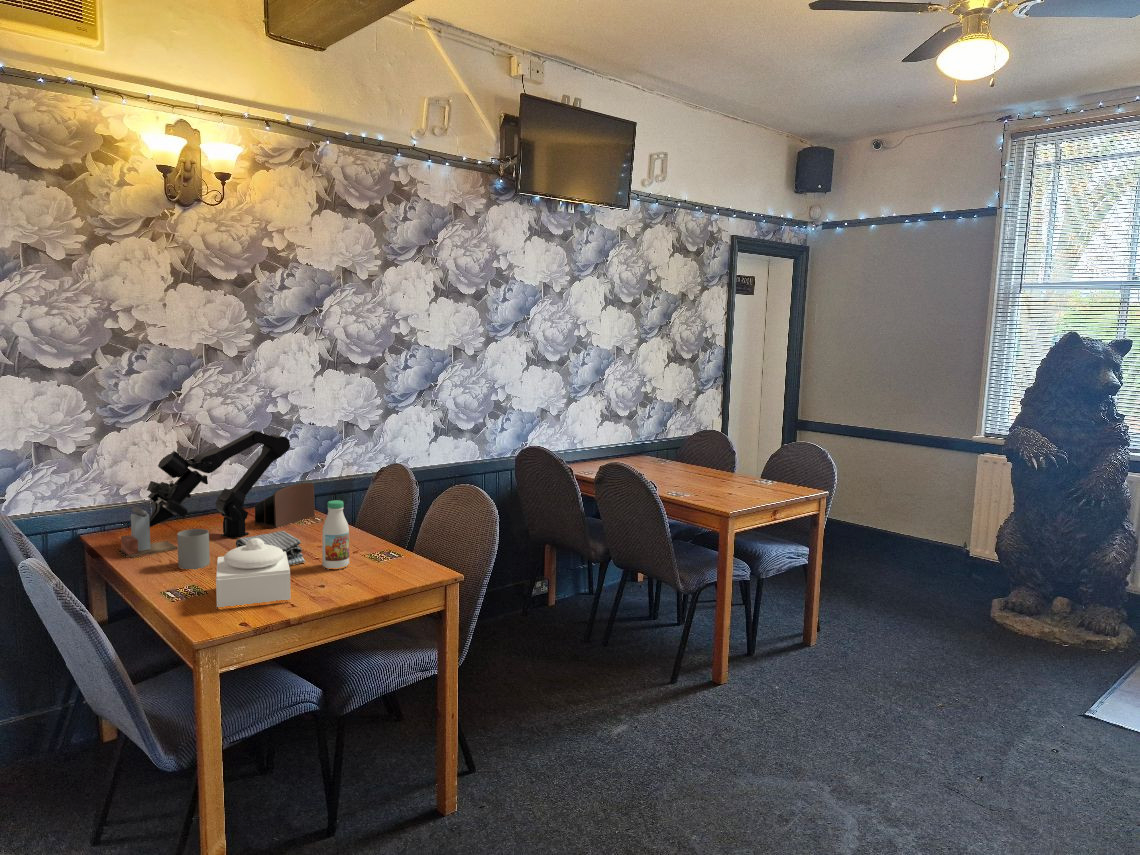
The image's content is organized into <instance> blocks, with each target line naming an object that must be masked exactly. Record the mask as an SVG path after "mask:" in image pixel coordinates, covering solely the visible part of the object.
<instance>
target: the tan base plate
mask: <svg viewBox="0 0 1140 855" xmlns="http://www.w3.org/2000/svg"><path fill="white" fill-rule="evenodd" d="M120 543H121V548H120V552H121V553H123V554H124V555H125V554H126V556H127V555H128V556H129V557H128V556H127V557H128V558H130V557H133V558H136V557H135V556H138V557H141V556H140V555H144V556H147V555H146V554H149V555H152V554H151V553H155V554H157V553H156V552H161V553H163V552H162V551H166V552H168V551H167V550H172V551H176V550H175V549H177V550H178V546H177V545H175V544H173V543H171V542H169V540H166V541H165V540H164V541H158V542H152V543H150V548H151V549H149V550H143V551H138V540H137V539H136V538H134V537H133V536H132V535H131V534H127V535H121V536H120Z"/></svg>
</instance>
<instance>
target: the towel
mask: <svg viewBox="0 0 1140 855" xmlns="http://www.w3.org/2000/svg"><path fill="white" fill-rule="evenodd" d="M252 538H259V539H261V540H262V541H263V542H264V544H266V545H272V546H276V547H278V548H280V549H281V550H283V552H284V551H286V555H287V559H288V563H289V565H293V564H298V563H303V562H305V563H306V560H305V559H304V557H303V556H304V554H303V553H302V552H303V549H302V547H301V546H300V544H302V541H301V540H300V539H299V538H297V537H295V536H293V535H292V534H290V533H288V532H286V531H285V530H278V531H276V532H275V531H274V532H271V533H267V534H266V533H263V534H258V535H257V534H256V535H253V536H246V537H245V536H243V537H238V538H236V541H235V547H236V548H237V547H241V546H245V545H246V543H247V542H248V541H249V540H250V539H252ZM298 565H299V564H298Z"/></svg>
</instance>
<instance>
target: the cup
mask: <svg viewBox="0 0 1140 855" xmlns="http://www.w3.org/2000/svg"><path fill="white" fill-rule="evenodd" d="M176 537H177V538H176V539H177V564H178V568H179V567H180V568H183V569H182V570H184V569H194V570H199V569H198V568H201V569H203V567H204V568H206V567H205V566H207V565H209V566H210V564H209V563H211V562H210V560H211V559H210V530H208V529H204V528H191V529H183V530H181V531H179V532H177V534H176ZM207 567H208V566H207ZM180 568H179V569H180Z"/></svg>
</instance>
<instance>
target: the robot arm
mask: <svg viewBox="0 0 1140 855" xmlns="http://www.w3.org/2000/svg"><path fill="white" fill-rule="evenodd" d="M257 444H261V445H262V447H261V452H260V455H259V456H258V457H257V458H256V460H254V462H253V463H252V464H251V466H250V467H248V469H247V470H246V472H245V473H244V474H243V475H242V476H241V478H240V479H239V480H238V482H237V483H236V484H235V485H234V486H233V487H232V488H230V489H228V488H224V489H223V490H222V492H221V493H220V495H218V496H216V501H215V509H216V510H217V512H219V513H220V514H221V516H222V517H223V521H222V533H221V534H220V537H222V536H223V537H224V538H231V539H239V538H242V537H245V536H247V535H250V533H249V532H248V531H246V520H247V518H248V515H249V512H247V510H246V509H244V508H243V505H244V504H245V500H246V497H247V495H248V493H249V492H250V491H251V489H252V488H253V487H254V486H255V485H256V483H257V482H258V480H259V479H260V478H261V477H262V476H263V474H264V473H265V472H266V470H268V468H269V467H270V466H271V465H272V463H273V462H274V461H276V460H277V459H279V458H281V457H283V455H285V454H286V453H287V452H289V450H290V448H291V441H290V440H289V438H287V437H286V436H283V435H279V434H271V435H269V434H267V433H263V432H261V431H259V430H256V429H253V430H249V432H247V433H246V434H244V435H242V436H240V437H238V438H236V439H234V440H232V441H230V442H228V443H227V444H224V445H223V446H221V447H219V448H216V449H210V450H207V451H204V452H201V453H200V452H199V453H197V455H195V456H194V457H191V458H188V459H185V458H183V456H181V454H180V453H179V452H177V451H175V450H173V451H172V452H171V453H169V454H167V455H165V456H164V457H163V458H161V459H160V461H159V462H158V464H157V467H158V468H159V469H160V470H162V471H163V472H164V473H165V474H167V475H168V476H169V477H171V478H172V479H175V478H177V480H176V481H175V482H174V483H173V482H170V483H167V482H163V481H161V482H156V481H153V480H150V481H149V484H148V486H147V489H146V491H147V492H150V493H149V495H148V496H147V498H148V499H150V500H151V501H152V504H153V511H152V513H151V514H150V516H149V522H150V528H151V527H154V526H155V525H158V524H160V523H162V522H164V521H166V520H168V519H171V518H175V517H176V515H175V514H177V515H178V517H180V518H182V519H185V517H186V516H187V515H188V513H189V512H188V509H187V508H186V507H184V506H183V505H182V504H183V502H184V501H186V499H187V498H188V499H190V498H191V497H192V495H191V493H193V491H194V490H195V488H197V486H199V484H200V483H202V484H204V485H208V484H209V481H208V475H206V474H211V473H213V472H215V471H216V470H217V469H219V468H220V467H221V466H223V464H224V462H226V461H227V460H229V459H231V458H232V457H235V456H236V455H238V454H240V453H242V452H244V451H245V450H248V449H250V448H251V447H253V446H255V445H257ZM190 468H191V469H193V470H191V469H190ZM200 472H201V473H200ZM202 473H205V474H203V475H202Z"/></svg>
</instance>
